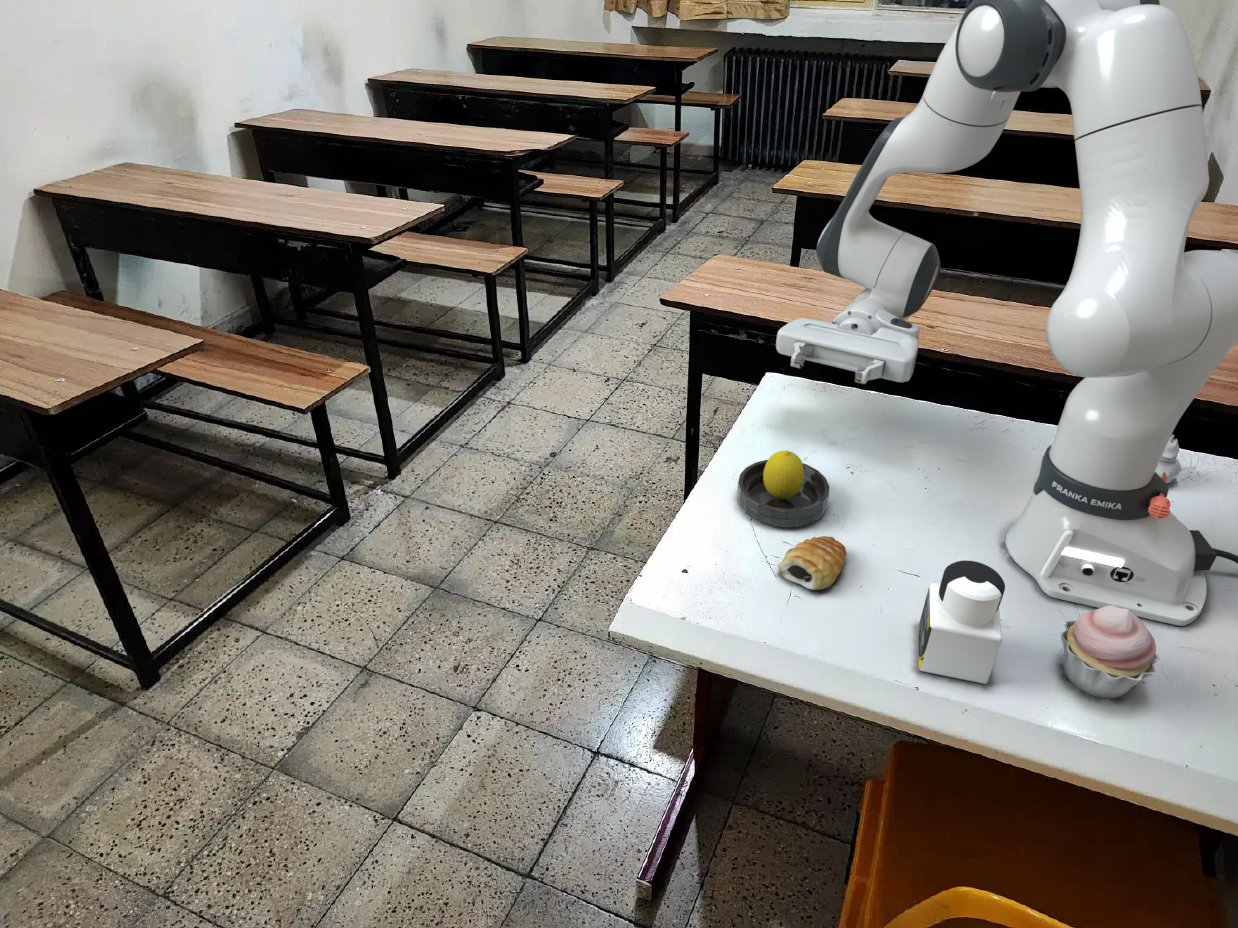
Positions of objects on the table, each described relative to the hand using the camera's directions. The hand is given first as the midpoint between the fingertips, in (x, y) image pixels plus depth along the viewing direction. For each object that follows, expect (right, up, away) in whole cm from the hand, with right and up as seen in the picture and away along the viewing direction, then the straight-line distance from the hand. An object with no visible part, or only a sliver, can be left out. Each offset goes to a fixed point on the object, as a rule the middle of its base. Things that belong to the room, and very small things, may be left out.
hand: (827, 370), depth 115 cm
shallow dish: (-6, -19, +1) cm, 20 cm away
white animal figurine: (+48, -15, +4) cm, 51 cm away
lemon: (-6, -18, +1) cm, 19 cm away
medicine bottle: (+8, -35, -23) cm, 42 cm away
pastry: (-5, -27, -11) cm, 29 cm away
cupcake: (+22, -36, -26) cm, 50 cm away
